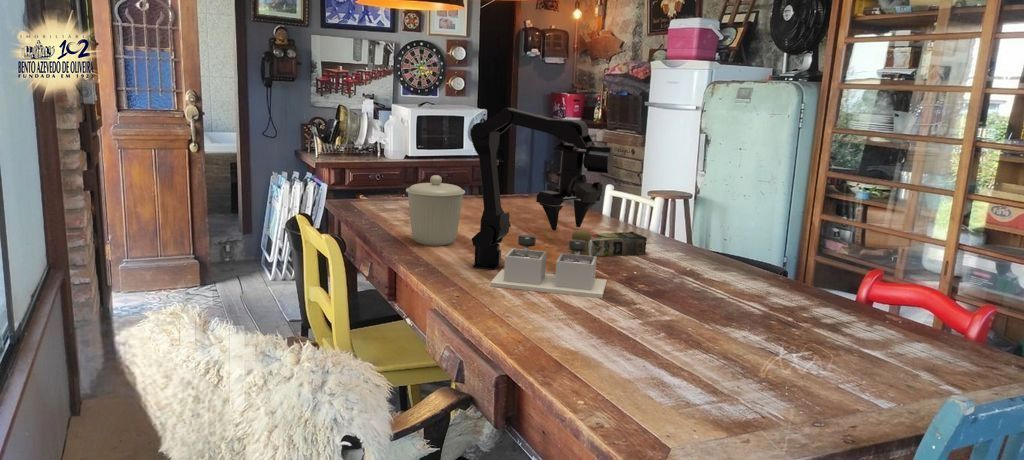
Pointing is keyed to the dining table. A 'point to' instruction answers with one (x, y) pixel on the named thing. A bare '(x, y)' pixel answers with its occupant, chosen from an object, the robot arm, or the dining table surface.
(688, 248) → the dining table surface
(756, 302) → the dining table surface
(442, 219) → the canister
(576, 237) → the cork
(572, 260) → the plunger
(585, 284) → the board
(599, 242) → the juice carton
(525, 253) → the plunger
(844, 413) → the dining table surface
